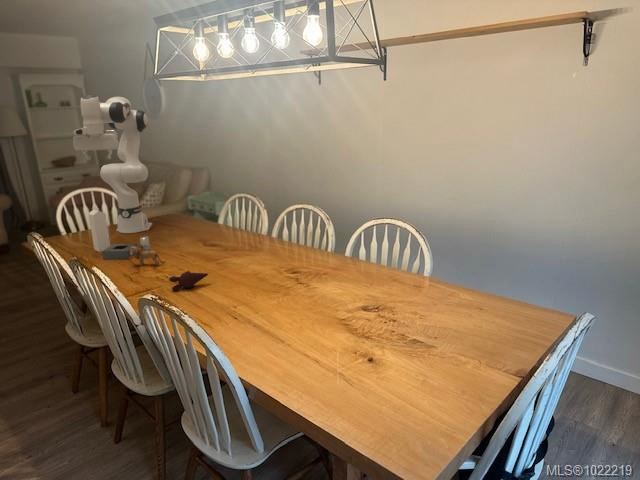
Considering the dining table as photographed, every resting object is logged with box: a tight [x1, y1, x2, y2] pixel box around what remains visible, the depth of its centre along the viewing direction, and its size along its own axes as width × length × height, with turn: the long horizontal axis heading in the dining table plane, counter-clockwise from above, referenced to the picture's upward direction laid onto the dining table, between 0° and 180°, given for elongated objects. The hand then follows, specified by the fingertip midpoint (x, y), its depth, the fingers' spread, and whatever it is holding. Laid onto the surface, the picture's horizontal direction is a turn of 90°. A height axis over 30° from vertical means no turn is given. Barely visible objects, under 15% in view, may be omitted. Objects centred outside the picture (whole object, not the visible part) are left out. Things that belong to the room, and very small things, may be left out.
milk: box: [87, 206, 111, 253], centre depth 228 cm, size 6×6×22 cm
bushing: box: [139, 235, 151, 251], centre depth 223 cm, size 4×4×8 cm
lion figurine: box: [130, 246, 165, 267], centre depth 206 cm, size 15×5×9 cm, turn 94°
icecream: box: [169, 270, 209, 292], centre depth 179 cm, size 7×7×15 cm
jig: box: [101, 243, 139, 260], centre depth 221 cm, size 12×13×4 cm
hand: (98, 159), depth 223 cm, fingers open, 8 cm apart
